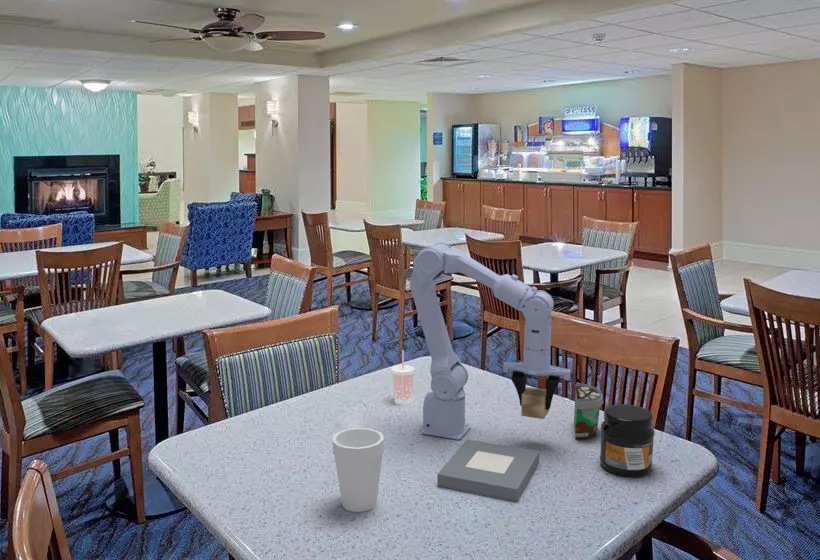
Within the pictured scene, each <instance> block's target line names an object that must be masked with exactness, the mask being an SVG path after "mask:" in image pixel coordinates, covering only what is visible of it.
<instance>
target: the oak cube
mask: <svg viewBox="0 0 820 560" xmlns="http://www.w3.org/2000/svg"><path fill="white" fill-rule="evenodd" d="M545 404H546V388H537V387H528V386H526V390H525V391H524V392H523V393H522V406H521V410H520V411H521V417H528V418H534V419H540V420H541V419H542V420H544V419H545V418H546V417H547V416H548V413H549V412H550V409H549V410H546V405H545Z"/></svg>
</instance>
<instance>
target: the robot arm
mask: <svg viewBox="0 0 820 560" xmlns="http://www.w3.org/2000/svg"><path fill="white" fill-rule="evenodd" d="M412 265H413V267H412V272H411V278H410V282H409V287H410V289H409V290H410V291H411V295H412V298H413V301H414V305H415V308H416V311H417V315H418V317H419V321H420V325H421V328H422V331H423V335H424V339H425V341H426V345H427V347H428V348H427V349H428V350H429V354H430V358H431V363H430V367H429V368H430V369H429V370H430V371H429V372H430V376H431V381H430V389H431V392H428V393H426V395H425V397H424V399H423V405H422V431H421V434H423V435H428V436H433V437H440V438H447V439H453V440H461V439H463V437H464V436H465V435H466V433H468V431H469V430H471V425H470V424H469V425H468V424H466V391H465V390H464V386H465V385H466V384H467V383H468V381H469V373H468V369H467V368H466V367H465V366H464V364H463V363H462V362H461V359H460V356H459V355H458V354H457V353H456V352H455V351H454V350H453V345H452V341H451V339H450V336H449V333H448V330H447V326H446V323H445V322H446V321H445V319H444V315H443V312H442V309H441V306H440V301H439V299H438V295H437V292H436V289H435V286H436V285H437V283H438V282H439V280H440V279H441V276H442V275H443V274H455V273H461V274H463V275H464V276H466V277H469V278H471V279H472V280H474V281H476V282H478V283H480V284H482V285H484V286H485V287H488V288H490V289H491V290H492V293H493V296H494V297H495V298H496V299H498V300H500V301H502V302H503V303H505V304H507V305H508V306H510V307H511V308H513V309H515V310H517V311H520V312H522V315H523V317H524V318H525V320H524V321H525V322H524V330H523V331H524V332H523V333H524V334H523V335H524V336H523V340H524V341H523V362H521V361H519V362H518V361H517V362H516V361H505V362H504V363H503V365H502V366H503V369H502V370H503V371H502V372H503V373H507V374H508V373H512V375H511V376H510V378H511V381H512V383H513V386H514V387H515V389H516V393H517V396H518V399H519V405H520V407H522V393H523V392H524V391H525V390H526V388H527V379H528V375H532V376H538V377H539V376H540V377H546V378H547V379H546V380H545V389H546V404H545V405H546V410H549V411H550V408H551V406H552V400H553V396H554V395H555V392H556V389H557V387H558V385H559V383H560V381H561V379H563V380H564V381H570V380H571V376H572V375H571V372H572V371H571V369H569V368H563V367H560V366H557V365H556V366H555V365H551V346H552V325H551V324H552V315H550V314H552V312H553V311H554V308H555V307H554V306H555V301H554V299H553V297H552V295H550V294H549V293H548V292H547V291H546V290H541V289H539V290H538V288H537V287H535V286H531V285H528V284H526V283H524V282H523V281H521V280H519V276H518V275H516V274H512V275H510V274H509V273H506V274H502V275H499V274H498V273H496V272H494V271H493V270H491V269H490V268H488V267H486V266H485V265H483V264H482V263H480V262H479V261H477V260H476V259H473V258H472V257H471V256H469V255H468V254H466V253H464V252H463V251H462V250H460V249H459V248H456V247H452V246H451V245H450V244H448V243H445V242H438V243H434V244H433V245H432V246H428V247H424V248H422V249H421V250H420V251H419V252H418V253H417V255H416V256H415V258H414V259H413V261H412Z"/></svg>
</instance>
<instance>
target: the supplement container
mask: <svg viewBox="0 0 820 560" xmlns="http://www.w3.org/2000/svg"><path fill="white" fill-rule="evenodd" d="M603 413H604V414H603V422H602V423H601V424H600V430H601V431H600V432H601V433H600V435H601V436H600V451H599V452H600V455H599V462H600V465H601V466H602V467H603V468H604V469H605V470H606V471H609V472H610V473H613V474H615V475H618V476H622V477H640V476H644V475H647V474H648V473H649V472H650V471H651V470H652V468H653V454H654V453H653V452H654V440H655V428H654V426H653V424H654V423H653V422H654V415H653V413H652V412H651V411H650V410H649V409H647V408H644V407H641V406H638V405H633V404H627V403H626V404H623V403H622V404H619V403H618V404H613V405H609V406H607V407H606V408H605V409H604V411H603Z"/></svg>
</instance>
